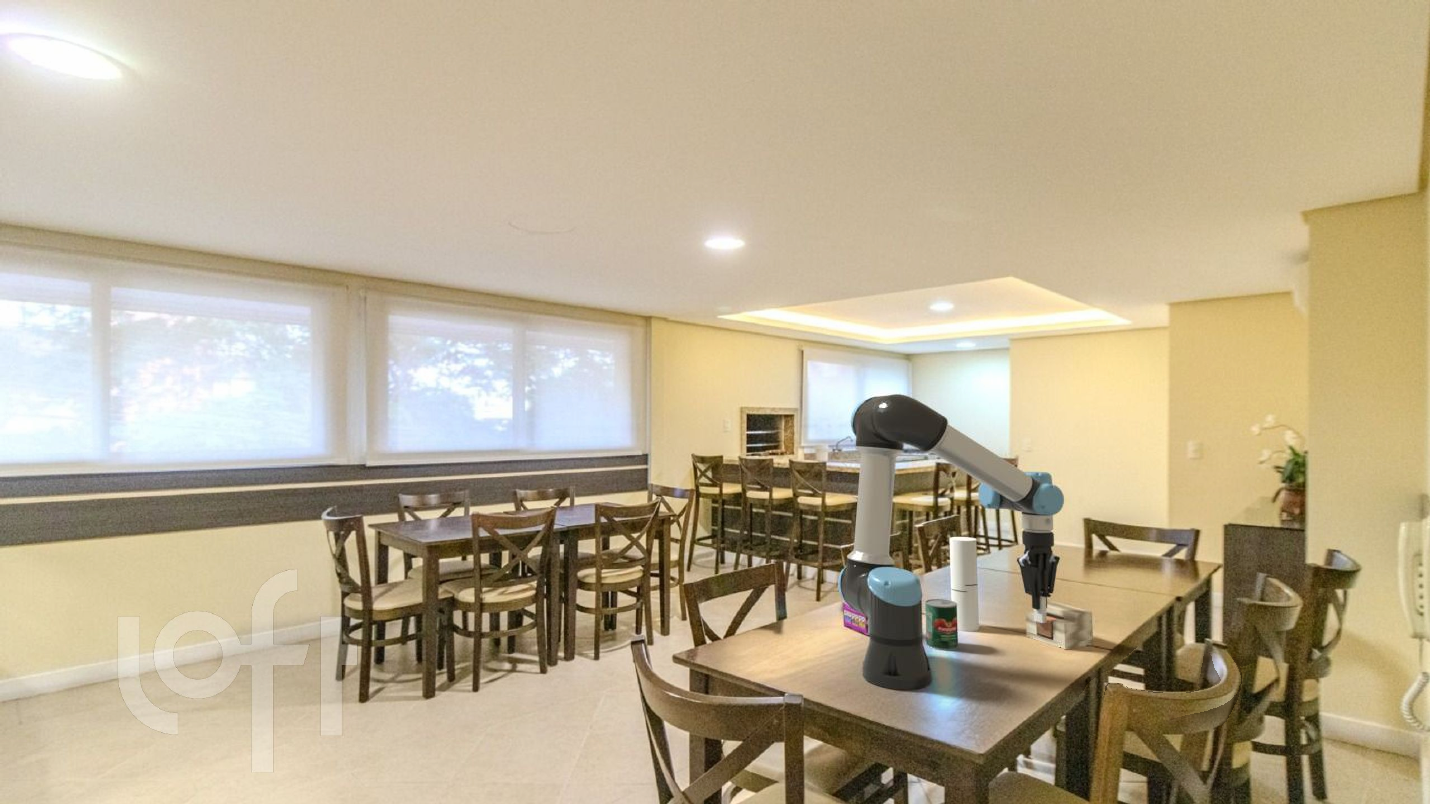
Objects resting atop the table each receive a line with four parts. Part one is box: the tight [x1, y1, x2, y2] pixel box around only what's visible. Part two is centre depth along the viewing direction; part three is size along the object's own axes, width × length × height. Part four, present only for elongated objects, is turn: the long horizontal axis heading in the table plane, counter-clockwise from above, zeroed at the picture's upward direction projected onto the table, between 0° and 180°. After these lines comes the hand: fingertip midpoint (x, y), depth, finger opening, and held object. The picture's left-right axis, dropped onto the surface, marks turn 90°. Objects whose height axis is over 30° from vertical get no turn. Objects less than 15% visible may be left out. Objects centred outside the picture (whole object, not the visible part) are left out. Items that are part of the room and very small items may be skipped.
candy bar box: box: [842, 599, 870, 636], centre depth 184 cm, size 11×5×16 cm, turn 25°
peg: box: [1037, 616, 1060, 637], centre depth 172 cm, size 10×4×4 cm, turn 112°
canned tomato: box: [924, 598, 959, 651], centre depth 169 cm, size 8×8×11 cm
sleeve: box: [1025, 601, 1094, 650], centre depth 172 cm, size 10×12×8 cm
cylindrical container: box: [949, 536, 980, 632], centre depth 185 cm, size 7×7×25 cm
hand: (1040, 621), depth 170 cm, fingers closed
